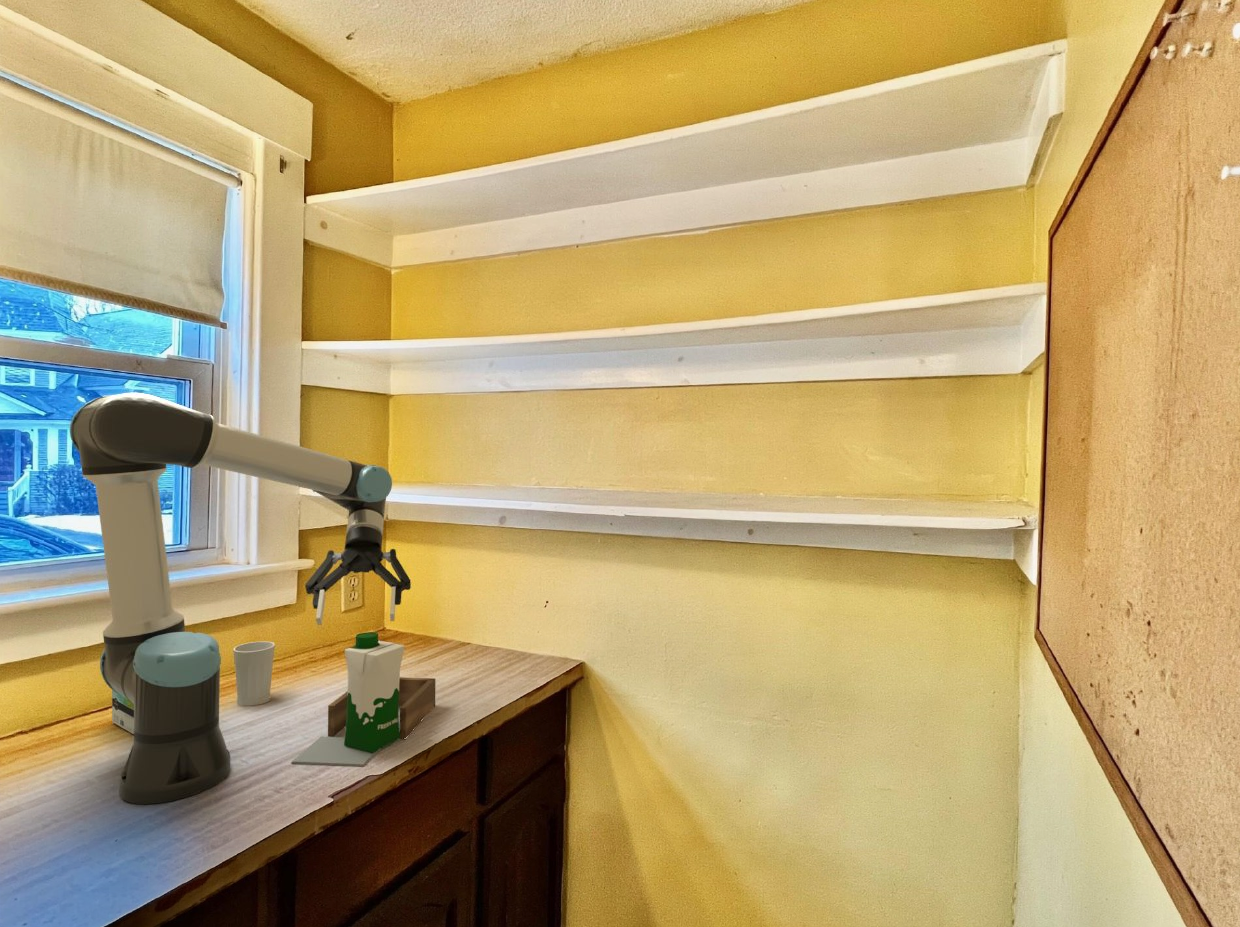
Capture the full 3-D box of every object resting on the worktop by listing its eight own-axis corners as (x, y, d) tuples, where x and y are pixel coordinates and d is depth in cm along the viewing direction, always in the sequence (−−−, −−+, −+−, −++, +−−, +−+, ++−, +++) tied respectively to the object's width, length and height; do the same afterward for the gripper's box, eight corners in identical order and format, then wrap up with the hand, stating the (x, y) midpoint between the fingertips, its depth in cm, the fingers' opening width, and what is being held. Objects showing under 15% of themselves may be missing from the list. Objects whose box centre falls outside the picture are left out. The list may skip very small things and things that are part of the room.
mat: (291, 763, 111) (291, 761, 111) (321, 738, 121) (321, 736, 121) (363, 766, 110) (363, 764, 110) (387, 741, 120) (387, 739, 120)
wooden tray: (327, 736, 122) (328, 705, 122) (366, 703, 139) (366, 676, 139) (405, 739, 121) (405, 708, 121) (435, 705, 138) (435, 678, 138)
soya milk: (371, 729, 125) (374, 628, 125) (407, 737, 121) (410, 634, 121) (336, 746, 117) (339, 638, 117) (373, 756, 113) (377, 645, 113)
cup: (277, 692, 144) (278, 640, 144) (269, 705, 137) (270, 650, 137) (238, 695, 142) (238, 642, 142) (228, 709, 134) (228, 653, 134)
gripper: (423, 544, 146) (421, 625, 132) (304, 546, 139) (289, 633, 124) (423, 523, 141) (421, 606, 127) (300, 525, 134) (283, 613, 119)
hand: (356, 619), depth 125 cm, fingers open, 13 cm apart
